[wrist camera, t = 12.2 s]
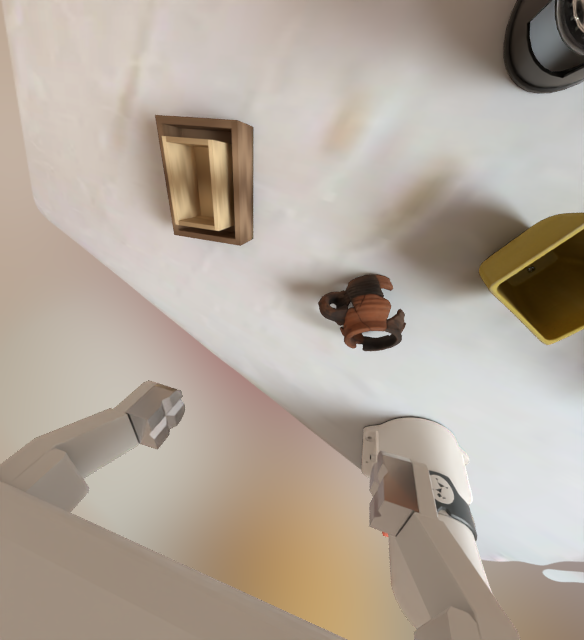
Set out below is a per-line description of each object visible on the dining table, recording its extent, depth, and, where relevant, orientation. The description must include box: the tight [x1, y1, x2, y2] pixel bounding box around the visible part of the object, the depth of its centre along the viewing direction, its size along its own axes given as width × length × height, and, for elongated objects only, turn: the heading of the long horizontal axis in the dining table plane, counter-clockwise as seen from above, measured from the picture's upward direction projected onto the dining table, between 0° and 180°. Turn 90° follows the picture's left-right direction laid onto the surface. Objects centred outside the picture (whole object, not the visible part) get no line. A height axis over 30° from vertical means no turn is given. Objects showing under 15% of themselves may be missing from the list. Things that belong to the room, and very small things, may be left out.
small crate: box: [162, 136, 235, 231], centre depth 30 cm, size 9×6×6 cm, turn 176°
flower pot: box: [479, 213, 584, 345], centre depth 25 cm, size 9×9×9 cm
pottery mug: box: [318, 275, 406, 351], centre depth 35 cm, size 12×10×8 cm
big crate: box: [155, 115, 253, 246], centre depth 32 cm, size 13×10×4 cm
